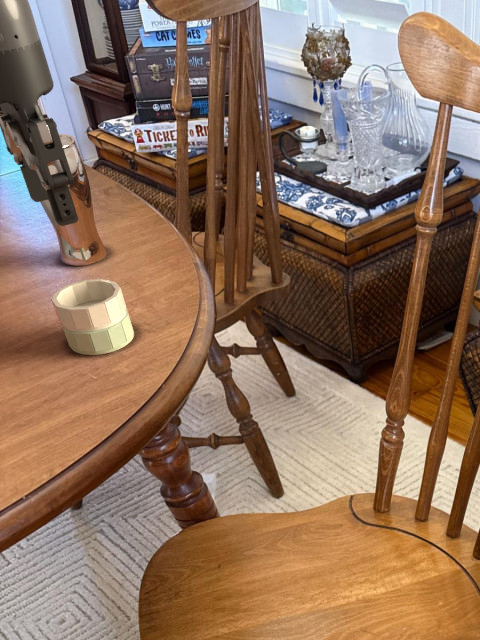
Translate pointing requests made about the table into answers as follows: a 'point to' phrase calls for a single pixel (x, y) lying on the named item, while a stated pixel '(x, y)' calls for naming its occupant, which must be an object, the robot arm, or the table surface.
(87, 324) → the faceted cream ring
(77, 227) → the beer glass
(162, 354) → the table surface
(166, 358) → the table surface
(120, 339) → the pale green hollow cylinder
